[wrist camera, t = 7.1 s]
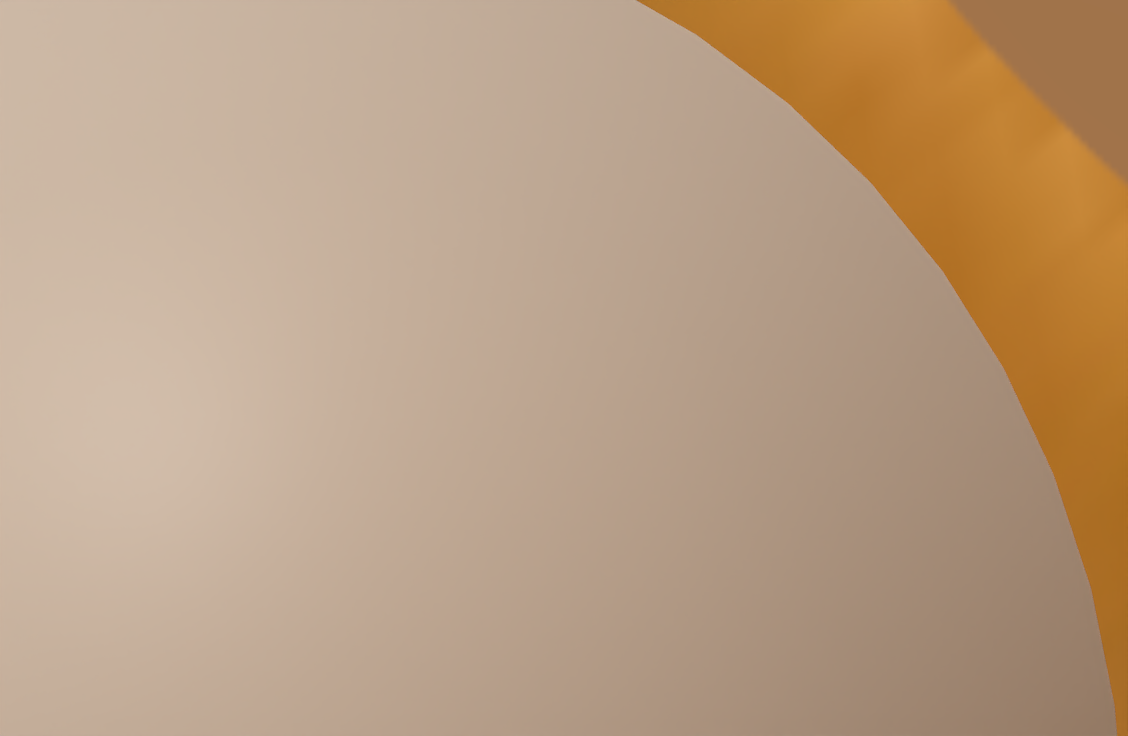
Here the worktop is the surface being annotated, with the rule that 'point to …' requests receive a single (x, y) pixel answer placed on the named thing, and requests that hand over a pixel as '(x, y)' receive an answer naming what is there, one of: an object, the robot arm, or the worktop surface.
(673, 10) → the worktop surface
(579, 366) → the tea tin
